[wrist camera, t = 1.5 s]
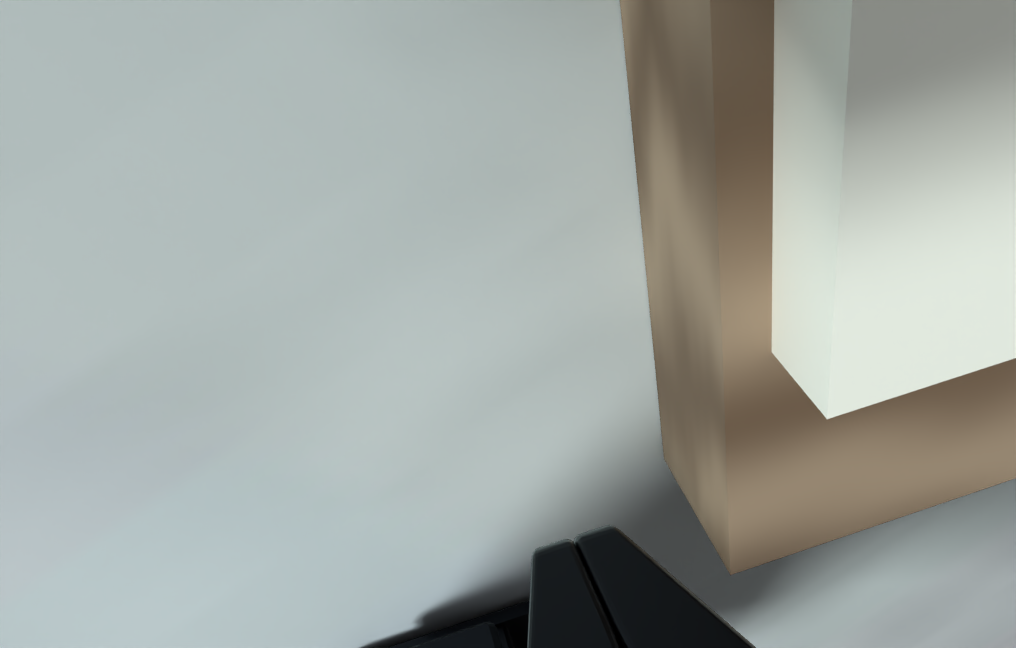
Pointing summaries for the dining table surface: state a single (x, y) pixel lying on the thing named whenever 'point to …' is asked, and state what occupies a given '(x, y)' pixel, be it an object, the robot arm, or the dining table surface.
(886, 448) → the tan flat block
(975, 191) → the white box
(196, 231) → the dining table surface
